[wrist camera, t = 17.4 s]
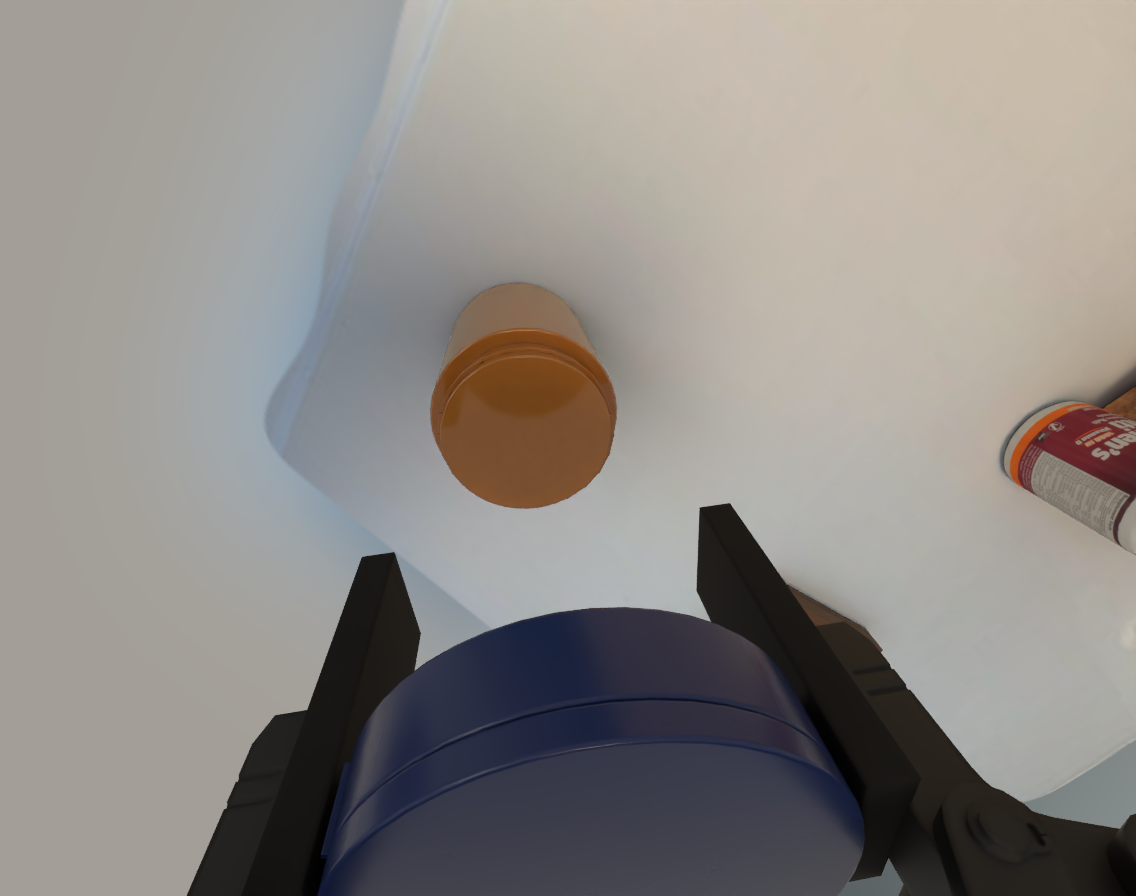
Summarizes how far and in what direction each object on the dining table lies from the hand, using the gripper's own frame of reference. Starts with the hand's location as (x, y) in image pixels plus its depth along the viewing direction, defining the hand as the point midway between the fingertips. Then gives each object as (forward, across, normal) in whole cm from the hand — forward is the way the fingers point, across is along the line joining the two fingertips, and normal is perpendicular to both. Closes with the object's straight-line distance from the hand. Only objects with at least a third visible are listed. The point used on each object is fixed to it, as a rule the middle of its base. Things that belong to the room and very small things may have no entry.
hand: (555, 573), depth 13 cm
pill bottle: (+16, +33, -10) cm, 38 cm away
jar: (+16, 0, +1) cm, 16 cm away
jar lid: (-6, 0, 0) cm, 6 cm away
